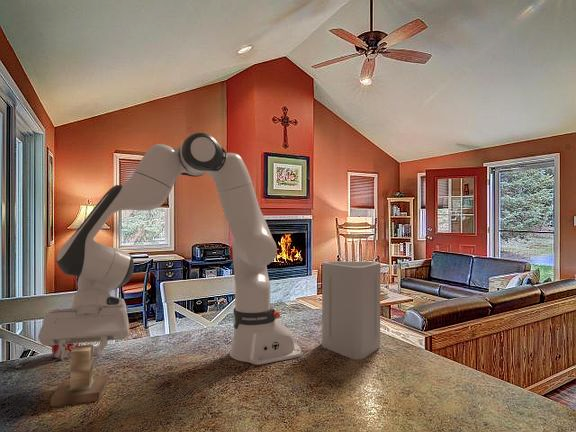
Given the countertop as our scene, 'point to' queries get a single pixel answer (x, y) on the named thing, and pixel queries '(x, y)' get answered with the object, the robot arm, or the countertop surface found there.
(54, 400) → the slab
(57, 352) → the soda can
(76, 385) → the pillar
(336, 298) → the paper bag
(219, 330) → the countertop surface
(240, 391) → the countertop surface
